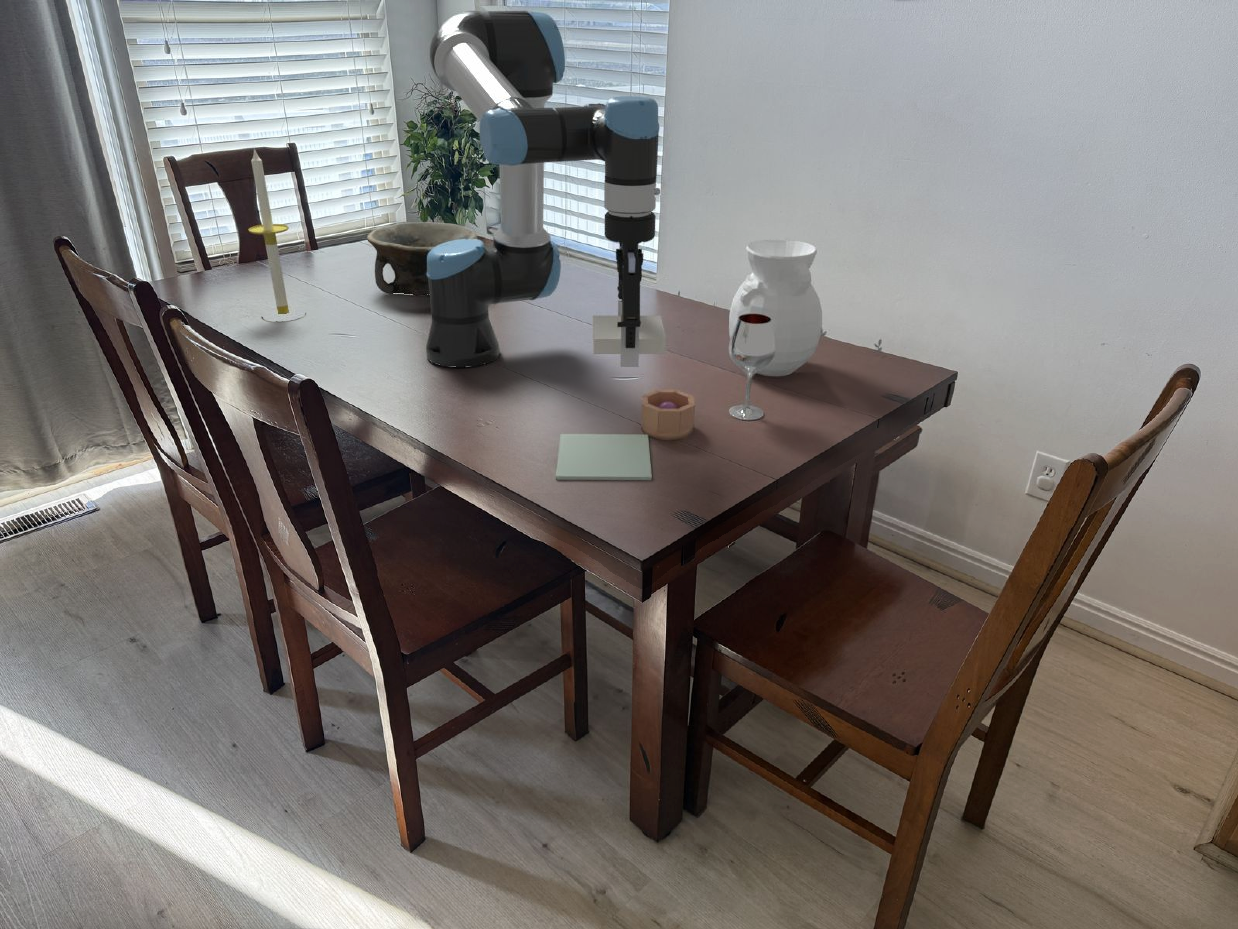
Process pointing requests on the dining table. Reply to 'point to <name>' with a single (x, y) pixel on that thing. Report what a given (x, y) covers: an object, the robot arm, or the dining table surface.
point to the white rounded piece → (782, 301)
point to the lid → (610, 335)
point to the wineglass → (751, 355)
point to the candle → (269, 235)
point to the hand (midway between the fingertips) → (627, 352)
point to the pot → (667, 414)
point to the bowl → (411, 252)
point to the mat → (603, 457)
